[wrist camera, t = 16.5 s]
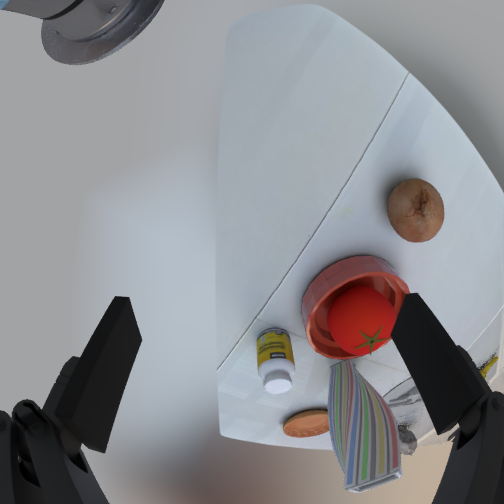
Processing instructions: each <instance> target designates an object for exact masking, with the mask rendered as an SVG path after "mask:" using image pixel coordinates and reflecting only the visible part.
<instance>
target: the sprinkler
mask: <svg viewBox="0 0 504 504" xmlns="http://www.w3.org/2000/svg"><path fill="white" fill-rule="evenodd" d="M497 360H498V357H494V358H493V359H492V360H491V361H490V363H489V364H488V365H487V366H486V367H485V368H484V369H483V370H482V371H481V370H479V371H480V372H481V374H482V376H483V377H484V379H485V378H486V373H487V371H489V370H490V368H491V366H492V365H493V364H494V363H495V362H496V361H497ZM487 383H489V382H487Z"/></svg>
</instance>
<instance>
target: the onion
mask: <svg viewBox="0 0 504 504" xmlns="http://www.w3.org/2000/svg"><path fill="white" fill-rule="evenodd" d="M388 217H389V220H390V223H391V225H392V227H393V228H394V230H395V231H396V232H397V234H398V235H399V236H401V237H402V238H403V239H405V240H407V241H410V242H424V241H428V240H430V239H432V238H433V237H434V236H435V235H436V234H437V233H438V231H439V230H440V228H441V226H442V224H443V220H444V205H443V201H442V198H441V196H440V194H439V193H438V191H437V190H436V189H435V188H434V187H433V186H432V185H431V184H430V183H428V182H426V181H424V180H421V179H409V180H405V181H403V182H401V183H400V184H399V185H397V186H396V187H395V189H394V190H393V191H392V192H391V194H390V196H389V200H388Z"/></svg>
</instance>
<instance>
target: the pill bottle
mask: <svg viewBox="0 0 504 504" xmlns="http://www.w3.org/2000/svg"><path fill="white" fill-rule="evenodd" d="M257 363H258V375H259V377H260V378H261V379H262V380H263V381H264V390H265V391H266V392H268V393H270V394H282V393H285V392H287V391H289V390H290V389H291V387H292V379H291V378H292V377H293V375H294V373H295V364H294V358H293V352H292V346H291V340H290V337H289V335H288V334H287V333H286V332H285V331H283V330H280V329H269V330H266V331H264V332H263V333H261V334H260V335H259V337H258V339H257Z"/></svg>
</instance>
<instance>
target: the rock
mask: <svg viewBox="0 0 504 504" xmlns="http://www.w3.org/2000/svg"><path fill="white" fill-rule="evenodd" d="M398 432H399V439H400V451H401V454H405V455H412V454H413V453H414V451H415V449H416V447H417V439H416V438H415V436H414V434H413V433H412V432H411V431H408V430H406V428H404V427H403V426H399V427H398Z"/></svg>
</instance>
